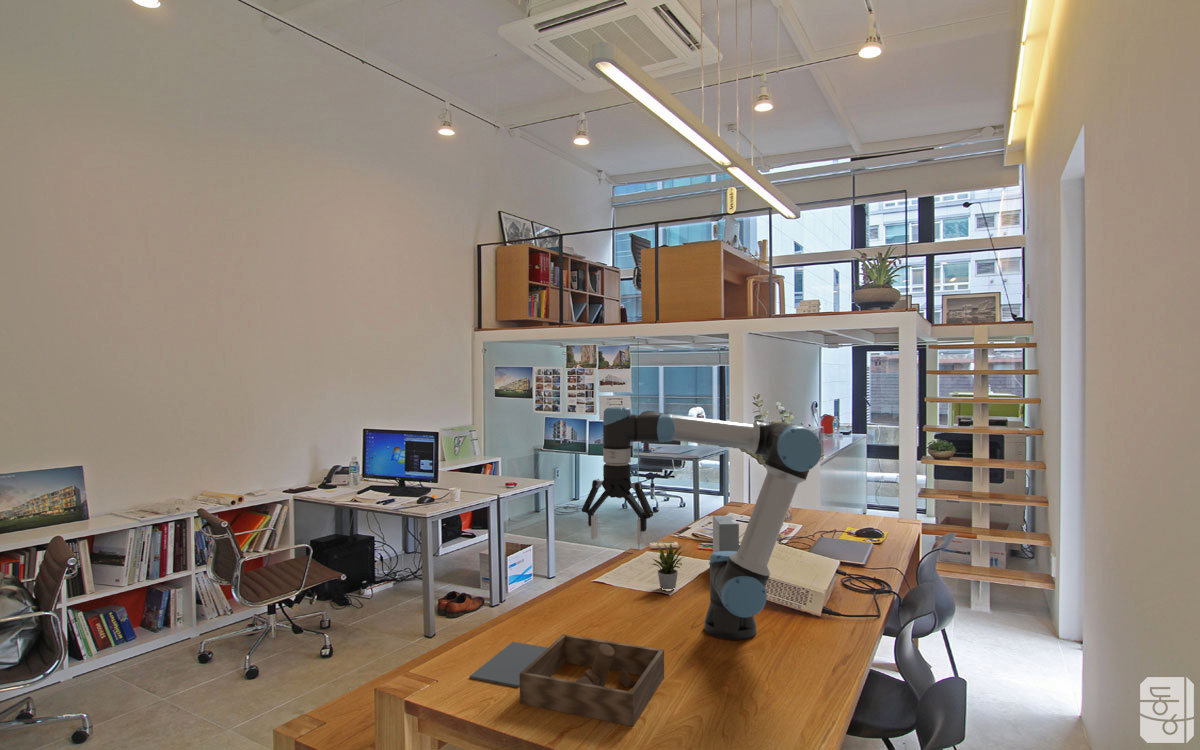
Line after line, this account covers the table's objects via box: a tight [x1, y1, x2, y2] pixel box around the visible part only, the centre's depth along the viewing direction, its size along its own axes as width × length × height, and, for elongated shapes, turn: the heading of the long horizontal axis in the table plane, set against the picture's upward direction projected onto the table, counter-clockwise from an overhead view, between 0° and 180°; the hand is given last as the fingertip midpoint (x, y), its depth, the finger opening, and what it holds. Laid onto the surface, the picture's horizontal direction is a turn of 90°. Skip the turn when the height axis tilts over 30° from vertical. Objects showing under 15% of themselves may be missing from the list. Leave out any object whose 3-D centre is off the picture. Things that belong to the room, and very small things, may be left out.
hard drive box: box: [712, 515, 740, 553], centre depth 249 cm, size 16×8×20 cm, turn 179°
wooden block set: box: [575, 644, 636, 689], centre depth 156 cm, size 18×9×10 cm, turn 136°
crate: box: [519, 633, 665, 727], centre depth 158 cm, size 28×24×7 cm
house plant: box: [648, 542, 687, 589], centre depth 230 cm, size 14×14×16 cm
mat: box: [469, 641, 549, 689], centre depth 173 cm, size 14×22×1 cm, turn 158°
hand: (616, 540), depth 179 cm, fingers open, 13 cm apart
